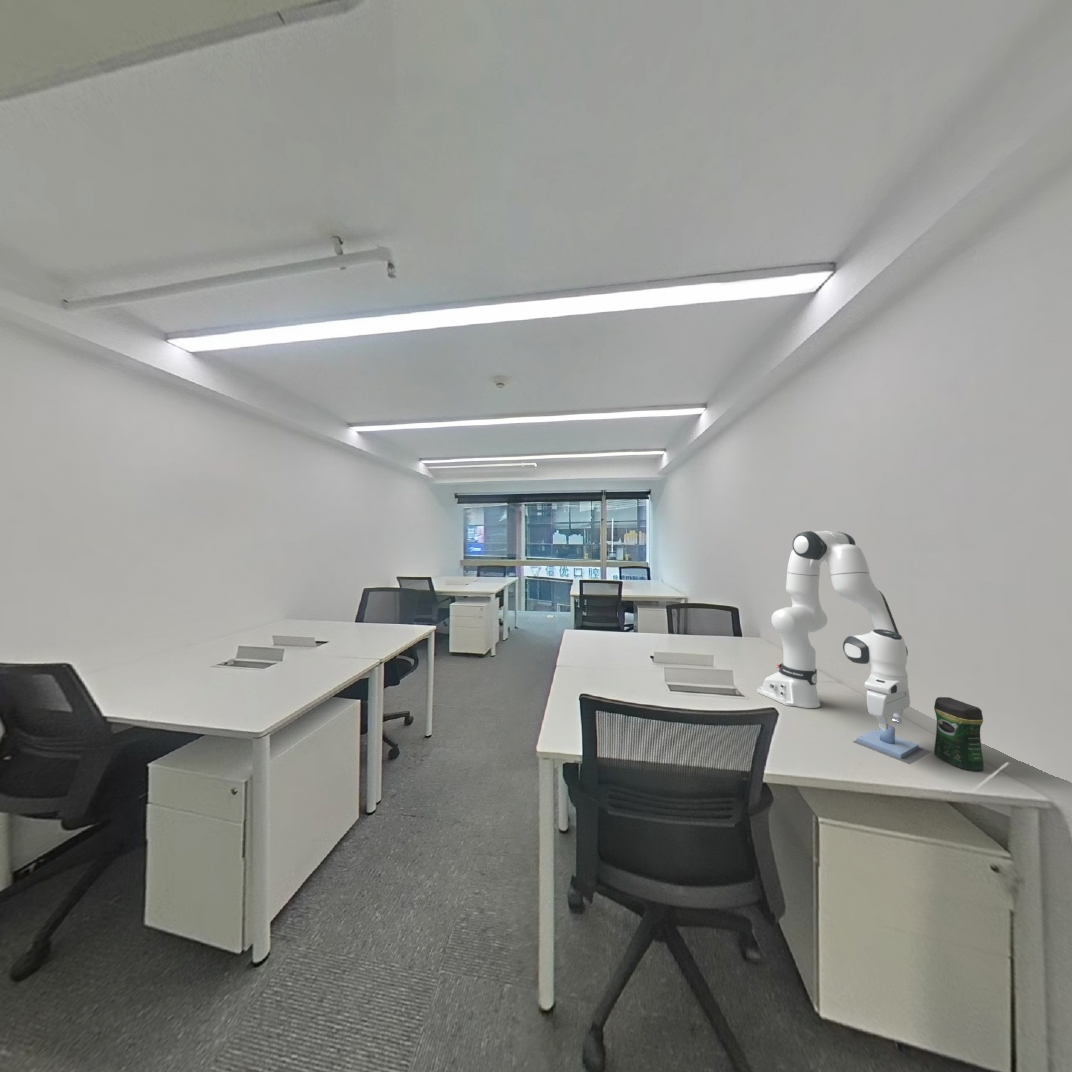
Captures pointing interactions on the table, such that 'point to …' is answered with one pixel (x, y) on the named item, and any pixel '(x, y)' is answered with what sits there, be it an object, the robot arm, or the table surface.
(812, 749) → the table surface
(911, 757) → the mat
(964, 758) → the coffee jar
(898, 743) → the lid
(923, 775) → the table surface
